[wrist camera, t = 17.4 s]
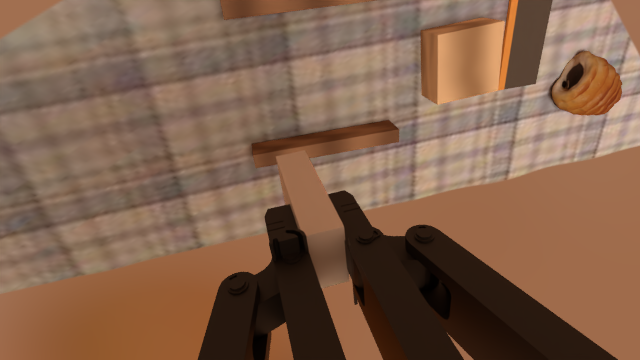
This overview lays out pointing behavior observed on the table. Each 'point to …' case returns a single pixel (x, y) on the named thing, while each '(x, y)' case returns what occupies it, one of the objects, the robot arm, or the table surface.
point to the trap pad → (523, 42)
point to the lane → (247, 3)
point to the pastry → (587, 86)
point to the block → (461, 59)
